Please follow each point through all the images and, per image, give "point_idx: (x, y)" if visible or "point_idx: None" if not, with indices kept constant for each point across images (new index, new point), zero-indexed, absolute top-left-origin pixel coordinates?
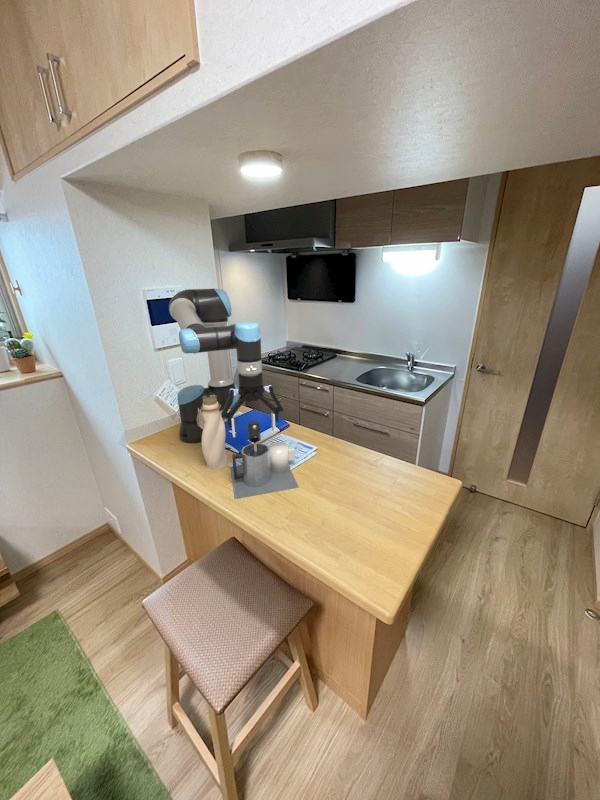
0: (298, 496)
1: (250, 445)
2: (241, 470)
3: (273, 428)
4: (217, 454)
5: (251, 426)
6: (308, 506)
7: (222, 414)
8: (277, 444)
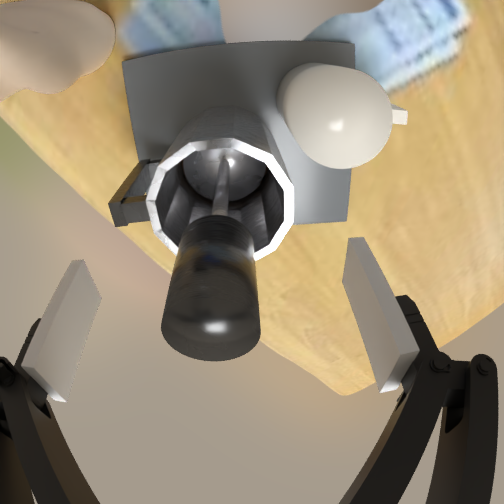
0: (333, 240)
1: (192, 150)
2: (166, 89)
3: (350, 299)
4: (53, 93)
5: (194, 356)
6: (341, 274)
7: (3, 426)
8: (347, 93)
